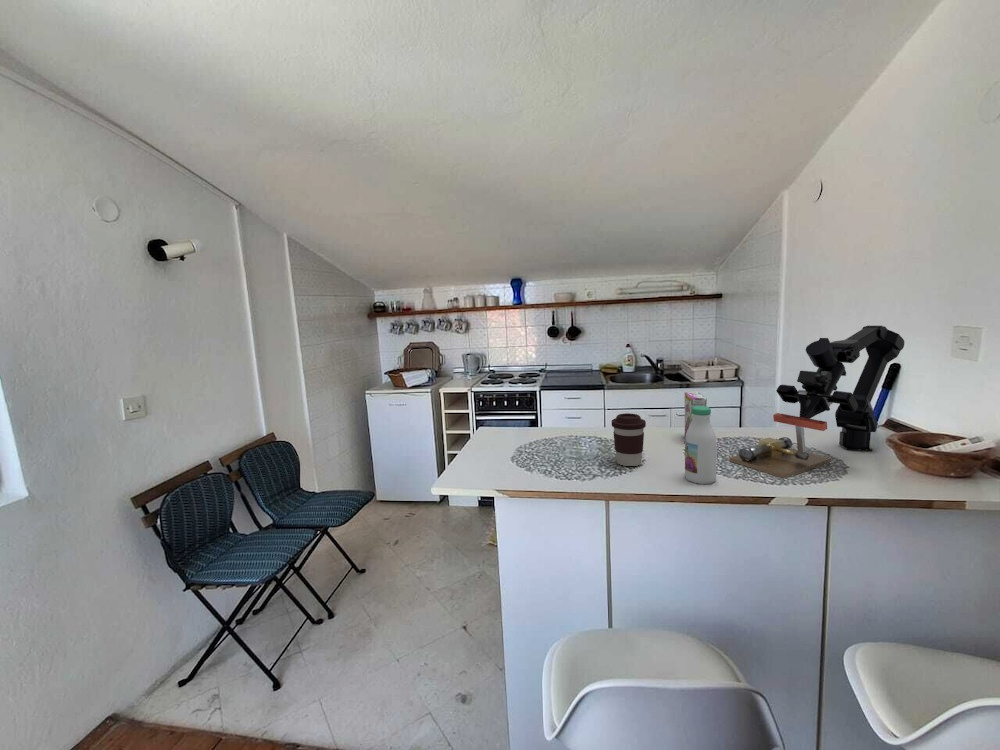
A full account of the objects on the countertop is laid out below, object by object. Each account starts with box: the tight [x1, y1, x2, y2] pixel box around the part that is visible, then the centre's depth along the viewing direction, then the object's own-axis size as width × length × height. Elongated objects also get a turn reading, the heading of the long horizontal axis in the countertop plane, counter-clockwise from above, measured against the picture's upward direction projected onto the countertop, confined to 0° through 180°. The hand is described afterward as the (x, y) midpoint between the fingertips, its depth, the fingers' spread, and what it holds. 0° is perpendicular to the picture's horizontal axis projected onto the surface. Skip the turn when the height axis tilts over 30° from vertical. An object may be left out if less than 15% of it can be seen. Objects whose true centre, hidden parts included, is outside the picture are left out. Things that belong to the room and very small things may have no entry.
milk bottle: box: [684, 406, 718, 485], centre depth 114 cm, size 8×8×20 cm
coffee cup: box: [611, 412, 647, 467], centre depth 129 cm, size 10×10×15 cm
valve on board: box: [728, 436, 832, 479], centre depth 124 cm, size 22×16×5 cm
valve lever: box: [772, 412, 828, 460], centre depth 119 cm, size 2×13×13 cm, turn 25°
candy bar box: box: [684, 391, 708, 438], centre depth 147 cm, size 11×5×16 cm, turn 168°
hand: (801, 420), depth 118 cm, fingers closed, pressing on valve lever
